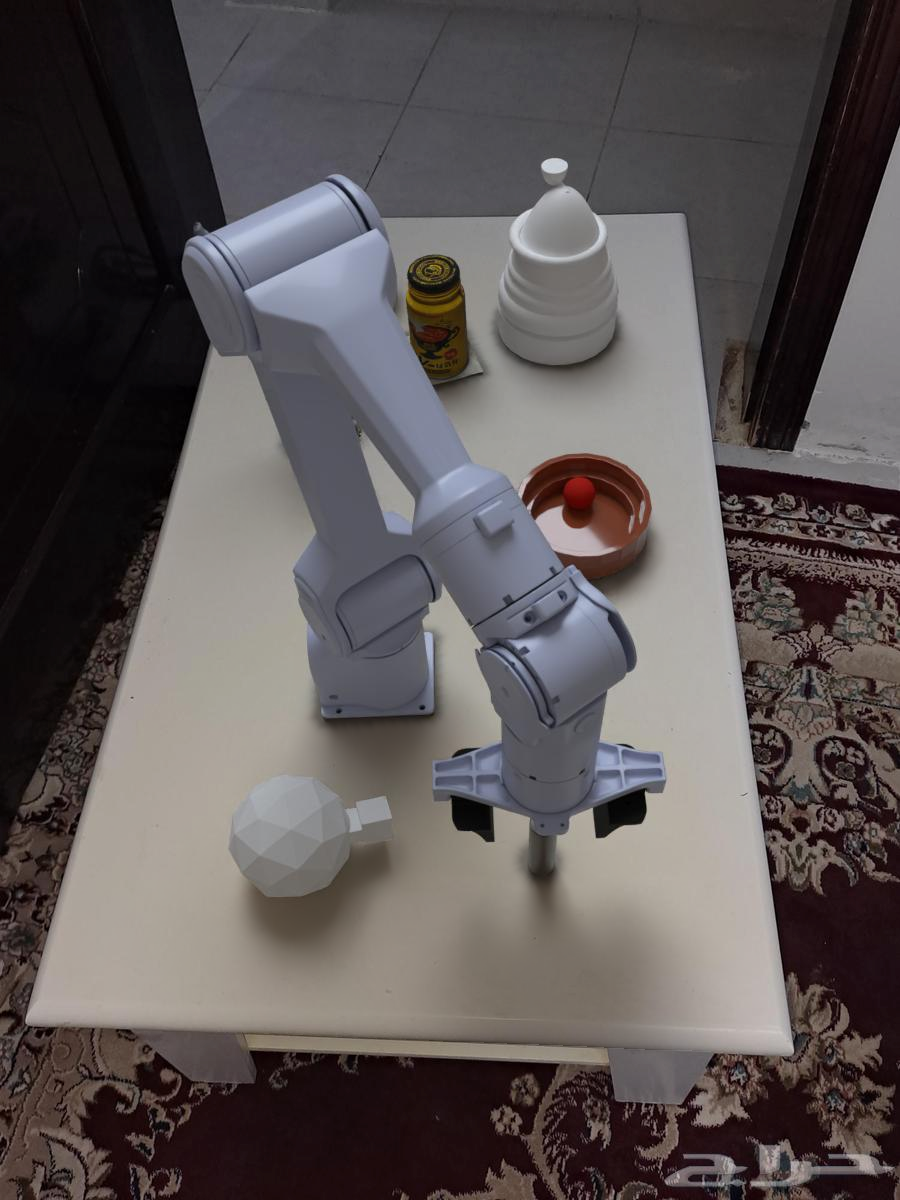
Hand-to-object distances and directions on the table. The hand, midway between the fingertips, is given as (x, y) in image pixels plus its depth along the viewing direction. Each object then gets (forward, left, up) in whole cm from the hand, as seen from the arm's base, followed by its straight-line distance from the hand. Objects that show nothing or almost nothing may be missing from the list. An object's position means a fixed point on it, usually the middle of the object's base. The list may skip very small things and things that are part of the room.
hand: (544, 826), depth 69 cm
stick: (0, 0, -7) cm, 7 cm away
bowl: (+6, +32, -7) cm, 33 cm away
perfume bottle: (-17, +1, -8) cm, 19 cm away
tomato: (+6, +35, -5) cm, 36 cm away
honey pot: (+6, +61, -8) cm, 62 cm away
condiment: (-7, +57, -8) cm, 58 cm away
